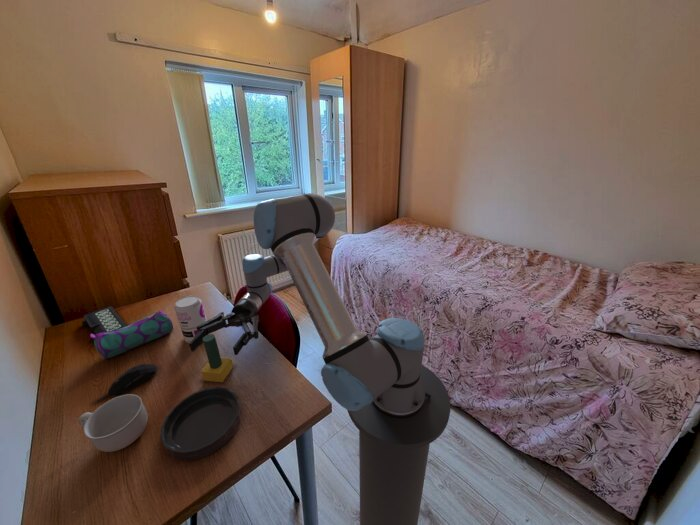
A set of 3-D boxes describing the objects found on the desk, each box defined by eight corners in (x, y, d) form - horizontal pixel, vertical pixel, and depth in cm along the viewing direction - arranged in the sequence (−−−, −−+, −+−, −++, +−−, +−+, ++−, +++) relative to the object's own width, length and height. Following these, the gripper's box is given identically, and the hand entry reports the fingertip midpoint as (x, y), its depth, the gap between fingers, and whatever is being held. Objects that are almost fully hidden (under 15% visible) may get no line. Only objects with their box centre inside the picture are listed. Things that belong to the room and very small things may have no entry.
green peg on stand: (233, 367, 88) (224, 331, 82) (222, 382, 83) (212, 345, 77) (215, 365, 89) (205, 330, 83) (203, 380, 83) (192, 344, 78)
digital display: (78, 315, 109) (110, 305, 116) (81, 322, 110) (113, 311, 117) (91, 338, 97) (126, 324, 104) (95, 346, 98) (129, 332, 105)
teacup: (162, 420, 72) (152, 397, 69) (123, 464, 62) (109, 441, 59) (117, 410, 75) (105, 388, 71) (73, 452, 65) (57, 429, 62)
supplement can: (211, 327, 106) (201, 292, 100) (209, 341, 99) (199, 304, 93) (186, 332, 104) (175, 297, 97) (183, 347, 97) (171, 310, 90)
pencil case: (167, 324, 108) (160, 303, 104) (176, 334, 103) (169, 312, 99) (99, 354, 94) (87, 330, 90) (104, 367, 89) (92, 343, 85)
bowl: (253, 399, 77) (251, 390, 75) (217, 467, 61) (214, 457, 60) (195, 393, 79) (192, 384, 78) (147, 456, 64) (141, 446, 62)
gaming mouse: (93, 396, 79) (88, 385, 77) (152, 364, 90) (148, 354, 88) (100, 408, 75) (94, 397, 74) (161, 373, 86) (157, 363, 84)
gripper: (281, 319, 101) (255, 363, 82) (216, 314, 104) (177, 355, 85) (279, 301, 98) (251, 342, 79) (212, 297, 101) (170, 335, 82)
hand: (212, 349), depth 82 cm, fingers open, 13 cm apart
